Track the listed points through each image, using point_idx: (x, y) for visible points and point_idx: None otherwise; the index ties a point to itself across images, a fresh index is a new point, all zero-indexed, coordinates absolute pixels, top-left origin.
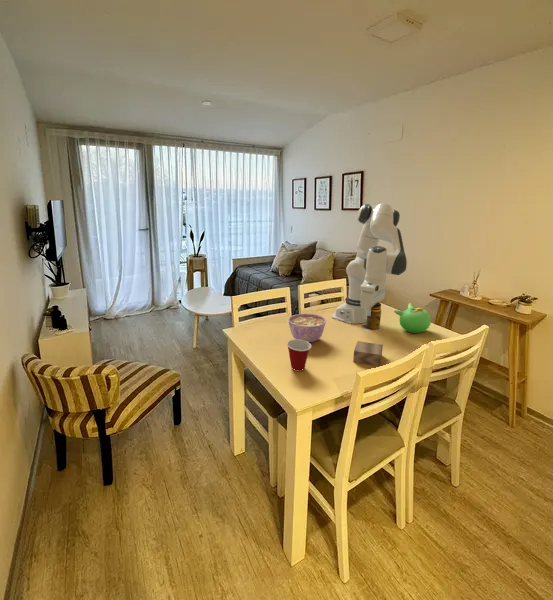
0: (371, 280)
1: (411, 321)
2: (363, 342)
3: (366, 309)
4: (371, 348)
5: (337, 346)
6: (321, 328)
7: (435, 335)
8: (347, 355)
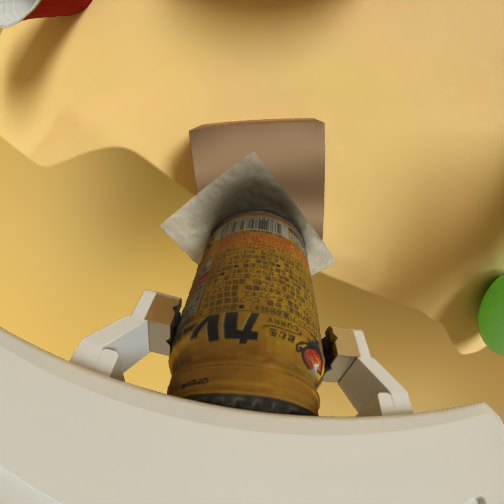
0: None
1: (497, 318)
2: (316, 154)
3: (95, 337)
4: None
5: (331, 33)
6: None
7: (470, 334)
8: (255, 87)
